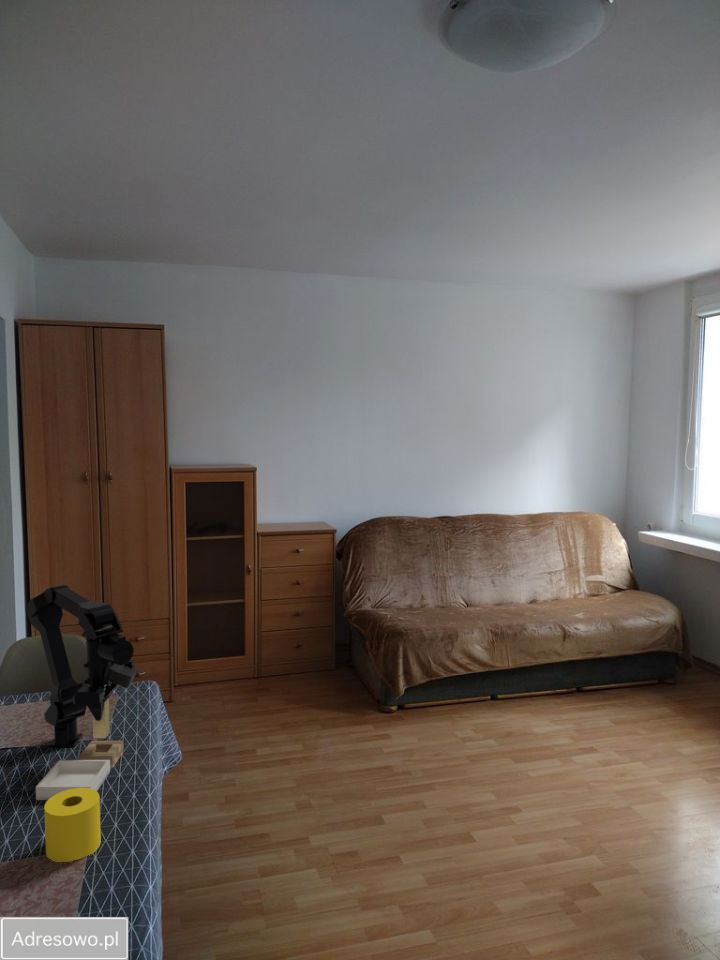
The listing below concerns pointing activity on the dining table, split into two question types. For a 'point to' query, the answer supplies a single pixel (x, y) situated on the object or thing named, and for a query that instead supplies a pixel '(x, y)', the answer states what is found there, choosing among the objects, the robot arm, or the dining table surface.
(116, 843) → the dining table surface
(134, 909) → the dining table surface
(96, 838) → the yellow toilet paper roll
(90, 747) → the block
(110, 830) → the dining table surface
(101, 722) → the pin
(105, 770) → the tray
